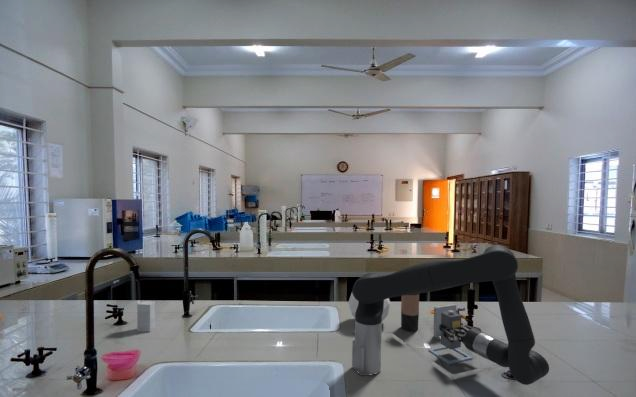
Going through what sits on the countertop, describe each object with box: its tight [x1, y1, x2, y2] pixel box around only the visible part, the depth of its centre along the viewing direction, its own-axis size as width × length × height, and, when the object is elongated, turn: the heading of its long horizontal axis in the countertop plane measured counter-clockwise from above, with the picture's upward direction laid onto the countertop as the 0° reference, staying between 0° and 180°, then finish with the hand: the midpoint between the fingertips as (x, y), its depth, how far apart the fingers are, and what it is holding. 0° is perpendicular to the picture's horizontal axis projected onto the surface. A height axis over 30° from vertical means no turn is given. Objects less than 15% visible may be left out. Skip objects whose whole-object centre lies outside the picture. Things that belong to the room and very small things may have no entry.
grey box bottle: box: [440, 310, 462, 350], centre depth 127 cm, size 5×5×13 cm
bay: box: [433, 303, 464, 344], centre depth 141 cm, size 11×9×14 cm
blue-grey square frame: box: [427, 345, 473, 365], centre depth 128 cm, size 11×11×2 cm
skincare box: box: [136, 300, 156, 333], centre depth 149 cm, size 6×4×12 cm
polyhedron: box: [347, 292, 391, 322], centre depth 161 cm, size 19×20×20 cm
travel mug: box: [400, 293, 420, 333], centre depth 151 cm, size 8×8×20 cm
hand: (445, 325), depth 130 cm, fingers closed on grey box bottle, 5 cm apart
